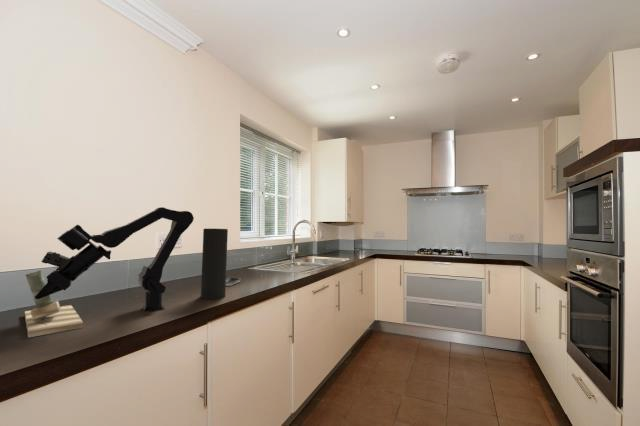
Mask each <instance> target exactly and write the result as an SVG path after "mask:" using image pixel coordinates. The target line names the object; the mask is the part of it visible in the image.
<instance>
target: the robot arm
mask: <svg viewBox="0 0 640 426" xmlns="http://www.w3.org/2000/svg"><path fill="white" fill-rule="evenodd" d="M162 219H165V220H169V221H171V222H170V223H171V224H170V230H169V232H168V233H167V235H166V237H165V239H164V241H163V242H162V244H161V246H160V248H159V249H158V251H157V253H156V255H155V257H154V258H153V260H152V262H151V263H150V264H149V265H148V266H146V265H143V266H142V269H141V272H140V273H138V275H137V276H138V280H137V281H138V284H139V286H140V287H142V288H143V289H144V291H145V295H144V305H143V306H142V308H143V311H144V312H149V311H155V310H156V311H157V310H164V309H165V307H164V304H163V294H164V293H165V291H166V289H167V288H166V286H165V285H164V284H163V283H161V279H162V276H163V269H164V267H165V265H166V263H167V261H168V259H169V258H170V256H171V253H172V252H173V251H174V248H175V246H176V245H177V243H178V241H179V239H180V237H181V236H182V235H183V233H185V231H186V230H187V229H189V227H190V226H191V225H192V223H193V222H194V221H195V220H194V219H195V217H194V215H193V213H192V212H190V211H188V210H180V211H179V210H174V209H169V208H166V207H157V208H155V209H154V210H152V211H150V212H148V213H146V214H145V215H142V216H141V217H138V218H136V219H135V220H133V221H131V222H129V223H126V224H125V225H122V226H118V227H115V228H112V229H108V230H106V231H103V232H102V233H101V234H93V235H90V234H89V233H88V232H87V231H86V230H84V228H83V227H82V226H81V225H79V224H76V225H75V226H73V227H71V228H69V230H66V231H65V232H63V233H61V235H59V236H58V237H57V240H58V241H60V242H61V243H62V244H64V246H66V247H67V248H69V249H70V250H71V251H75V250H77V251H79V252H78V253H77V254H75V255H72V256H71V257H68V256H65V255H63V254H61V253H57V252H56V251H54V252H53V251H47V252H46V254H45V255H44V256H43V258H42V260H41V263H43V264H49V265H52V266H53V267H57V268H56V269H55V270H53V271H52V272H50V273H49V274H48V275H47V276H46V281H47V283H46V285H45V286H44V287H43V288H42V290H41V291H40V292H39V293H38V294H37V295H36V296H35V298H36V299H40V298H43V297H45V296H48V295H53V294H55V293H58V292H61V291H66V290H67V289H69V288H70V286H72V285H73V282H74V281H76V280H77V278H78V277H80V276H81V275H82V274H83V273H85V272H86V271H89V269H90V267H92V266H94V265H95V264H96V263H97V262H98V261H99V260H101V259H102V258H103V257H105V258H106V259H107V260H110V259H111V253H112V250H106V249H105V248H104V247H106V248H109V249H112V248H117V247H118V246H120V245H121V244H122V243H123V242H125V241H126V240H127V239H128V238H129V237H131V236H132V235H133V234H135V233H137V232H138V231H140V230H143V229H144V228H146V227H149V226H151V225H152V224H154V223H155V222H157V221H159V220H162ZM93 242H94V243H97V244H101V245H96V244H94V243H93ZM88 244H89V245H88Z"/></svg>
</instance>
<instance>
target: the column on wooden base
mask: <svg viewBox="0 0 640 426" xmlns="http://www.w3.org/2000/svg"><path fill="white" fill-rule="evenodd" d="M25 277H26V281H27V283H28V286H29V289H30V292H31V294H32V297H33V300H34V303H35V306H36V307H35V308H33V309H32V311H31V310H29V311H30V312H31V315H32V318H33V321H35V320H38V319H41V318H44V317H46V316H49V315H52V314H55V313H58V312H60V310H61V308H60V306H61V305H60V302H59V300H56V301H54V302H52V301H53V300H52V299H51V296H50V295H48V296H45V297H43V298H40V299H36V298H35V296H36V295H37V294H38V293H39V292H40V291H41V290H42V288H43V287H44V286H45V285H46V284H47V283H46V281H45V278H44V275H43V272H42V270H38V271H34V272H30V273H27V274H25Z"/></svg>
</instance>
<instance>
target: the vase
mask: <svg viewBox="0 0 640 426" xmlns="http://www.w3.org/2000/svg"><path fill="white" fill-rule="evenodd" d="M228 231H229V230H228V228H203V233H202V234H203V235H202V254H201V255H202V258H201V259H202V260H201V261H202V263H201V280H200V281H201V285H200V298H201V299H203V300H218V299H222V298H224V297H226V287H227V286H226V283H227V282H226V279H227V263H228V262H227V261H228V260H227V258H228V237H229V236H228V234H229V233H228Z"/></svg>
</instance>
